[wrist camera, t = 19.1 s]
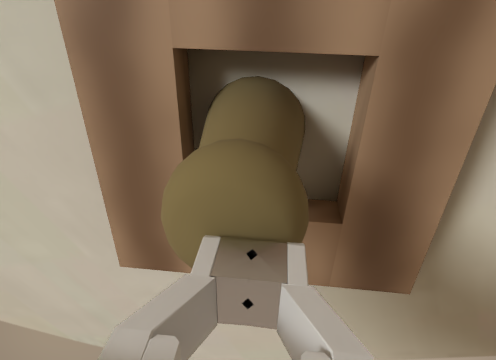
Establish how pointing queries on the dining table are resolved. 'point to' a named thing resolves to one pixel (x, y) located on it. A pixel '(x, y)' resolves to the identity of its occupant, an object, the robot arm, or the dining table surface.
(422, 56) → the walnut dock
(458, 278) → the dining table surface
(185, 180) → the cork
